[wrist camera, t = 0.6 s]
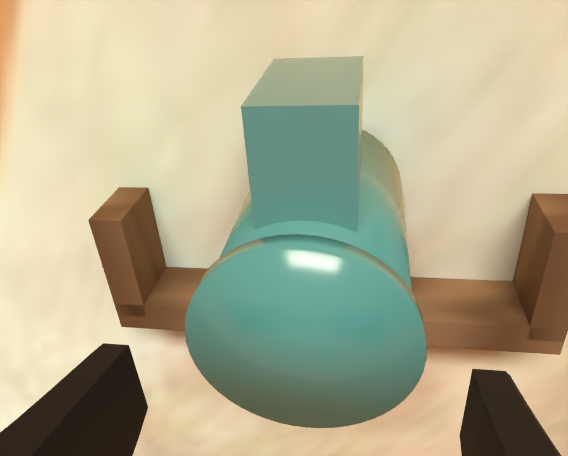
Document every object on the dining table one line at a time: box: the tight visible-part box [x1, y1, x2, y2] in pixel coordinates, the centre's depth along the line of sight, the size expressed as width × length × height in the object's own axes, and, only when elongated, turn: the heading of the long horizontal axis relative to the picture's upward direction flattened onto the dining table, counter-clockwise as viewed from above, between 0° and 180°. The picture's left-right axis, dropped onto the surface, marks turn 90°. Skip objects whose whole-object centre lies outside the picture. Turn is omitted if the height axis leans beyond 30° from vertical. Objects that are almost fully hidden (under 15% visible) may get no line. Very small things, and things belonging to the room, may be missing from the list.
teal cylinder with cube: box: [185, 56, 427, 428], centre depth 14 cm, size 6×8×8 cm
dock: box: [89, 187, 568, 355], centre depth 19 cm, size 16×5×2 cm, turn 93°
